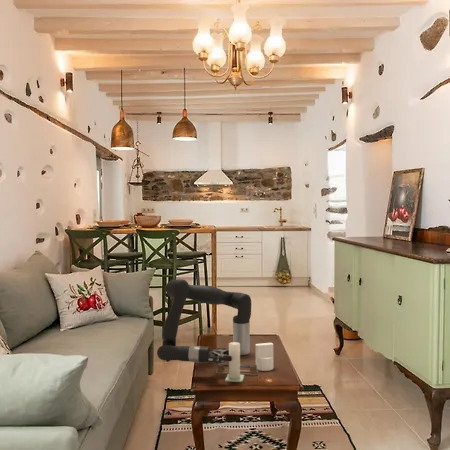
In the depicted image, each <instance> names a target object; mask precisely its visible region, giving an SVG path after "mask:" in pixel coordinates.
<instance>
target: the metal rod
mask: <svg viewBox="0 0 450 450" xmlns="http://www.w3.org/2000/svg"><path fill="white" fill-rule="evenodd" d="M219 365H224V368H225V367H226V368H229V363H224V364H219ZM254 365H255V364H250V365H249V364H240V368H247V369H248V368H249V369H250V366H254ZM254 367H255V366H254Z"/></svg>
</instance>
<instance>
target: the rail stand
mask: <svg viewBox="0 0 450 450" xmlns="http://www.w3.org/2000/svg"><path fill="white" fill-rule="evenodd" d="M219 364H225V363H223V362H221V363H218V364H216V365H217V367H216V369H217V370H216V372H215V374H217V375H228V374H229V368H225V367H224V365H219ZM253 365H254V366H255V367H254V366H250V368H249V369H240V375H244V376H253V377H254V376H255V377H256V376H258V374H259V370H257V365H256V364H253Z"/></svg>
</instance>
